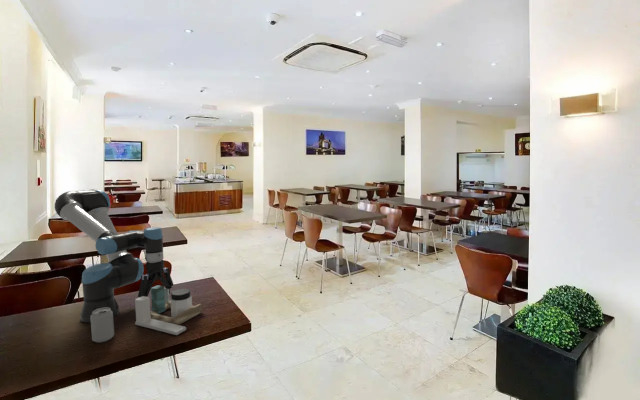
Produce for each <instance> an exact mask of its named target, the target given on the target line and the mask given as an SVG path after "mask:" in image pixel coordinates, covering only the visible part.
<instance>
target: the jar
mask: <svg viewBox="0 0 640 400" xmlns="http://www.w3.org/2000/svg"><path fill="white" fill-rule="evenodd" d="M170 296H171V298H170V301H171V307H170V314H171V316H170V317H172V318H175V316H177V315H179V314H181V313H183V312H184V311H186V310H188V309H190V308H192V305H193V296H192V295H191V290H190V289H189V288H180V289H179V288H178V289H175V290H173V291H172V292H170Z"/></svg>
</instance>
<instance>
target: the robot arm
mask: <svg viewBox="0 0 640 400" xmlns="http://www.w3.org/2000/svg"><path fill="white" fill-rule="evenodd" d="M110 207H111V199H110V196H109V195H108V194H107V192H106V191H104V190H101V189H87V190H85V189H84V190H70V191H69V190H68V191H65V192H63V193H61V194H59V196H58V197H57V198H56V199H55V202H54V210H55V213H56V215H58V216H59V217H60V218H61V220H64V221H69V222H70V224H72V225H74V227H76V228H77V229H78V230H80V231H81V232H83V233H84V234H85V235H86V236H87V237H88V238H90V240H93V242H95V249H96V251H97V253H98V254H100V255H101V256H102V255H103V256H104V255H105V256H106V258H107V260H108V261H107V262H101V263H98V264H93V265H92V266H89V267H87V268H85V269H84V270H83V272H82V275H81V283H82V292H83V293H82V295H83V305H82V308H81V312H80V314H79V315H80V317H79V318H80V322H83V323H86V324H89V323H90V324H91V319H90V316H91V315H92V312H93V311H94V310H96V309H99V308H105V307H108V308H110V309H111V311H113V318H114V317H116V316H117V315H119V314H120V307H119V303H118V302H117V300H116V298H115V291H114V290H115V289H119V288H122V287H125V286H126V285H127V286H128V285H130V284H134V283H135V282H138V281H139V280H141V281H140V284H139V288H138V294H137V298H140V297H142V296H145V297H149V295H150V293H151V288H152V287H153V285H154V283H155V282H156V281H158V280H159V281H160V282H161V284H162V286H164V294H165V303H167V302H170V301H171V300H170V299H171V298H170V295H171V289H172V288H173V287H172V286H174V282H173V279H172V276H171V273H170V268H169V267H165V263H164V262H165V260H164V258H165V257H164V244H163V243H164V242H163V240H164V239H163V238H164V235H163V230H162V228H161V227H158V226H156V227H154V226H152V227H147V228H145V229H144V230H138V229H134V230H129V231H128V232H126V233H120V234H118V232H117V230H116V228H115V226H114V224H113V221H112V219H111V218H110V215H109V211H110ZM135 248H144V253H145V261H146V262H145V267H146V268H144V264H143V261H142V260H141V259H140V258H138V257H134V256H133V254H132V253H130V252H128V251H127V250H132V249H135ZM145 269H146V271H147V272H146V274H144V270H145Z"/></svg>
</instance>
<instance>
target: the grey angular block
mask: <svg viewBox="0 0 640 400" xmlns="http://www.w3.org/2000/svg"><path fill="white" fill-rule="evenodd" d="M150 297H151V296H148V297H145V296H142V297H140V298H139V297H137V298H135V299H134V306H135V307H134V308H135V320H136V321H135V322H134V323H135V325H136V326H139V327H142V328H143V327H144V328H148V329H152V330H155V331H158V332H163V333H167V334H171V335H174V336H178V335H179V334H182V333H183V332H185V331H186V330H187V326H184V325H181V324H180V325H176V324H172V323H168V322H163V321H159V320H155V319H151V314H150V312H151V299H150Z"/></svg>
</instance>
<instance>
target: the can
mask: <svg viewBox="0 0 640 400" xmlns="http://www.w3.org/2000/svg"><path fill="white" fill-rule="evenodd" d="M90 319H91V323H90V329H91V341H92V342H95V343H105V342H108V341H110V340H111V339H112V338H114V336H115V327H114V317H113V311H111V309H110V308H108V307H105V308H99V309H96V310H94V311H93V312H92V315H91V316H90Z"/></svg>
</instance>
